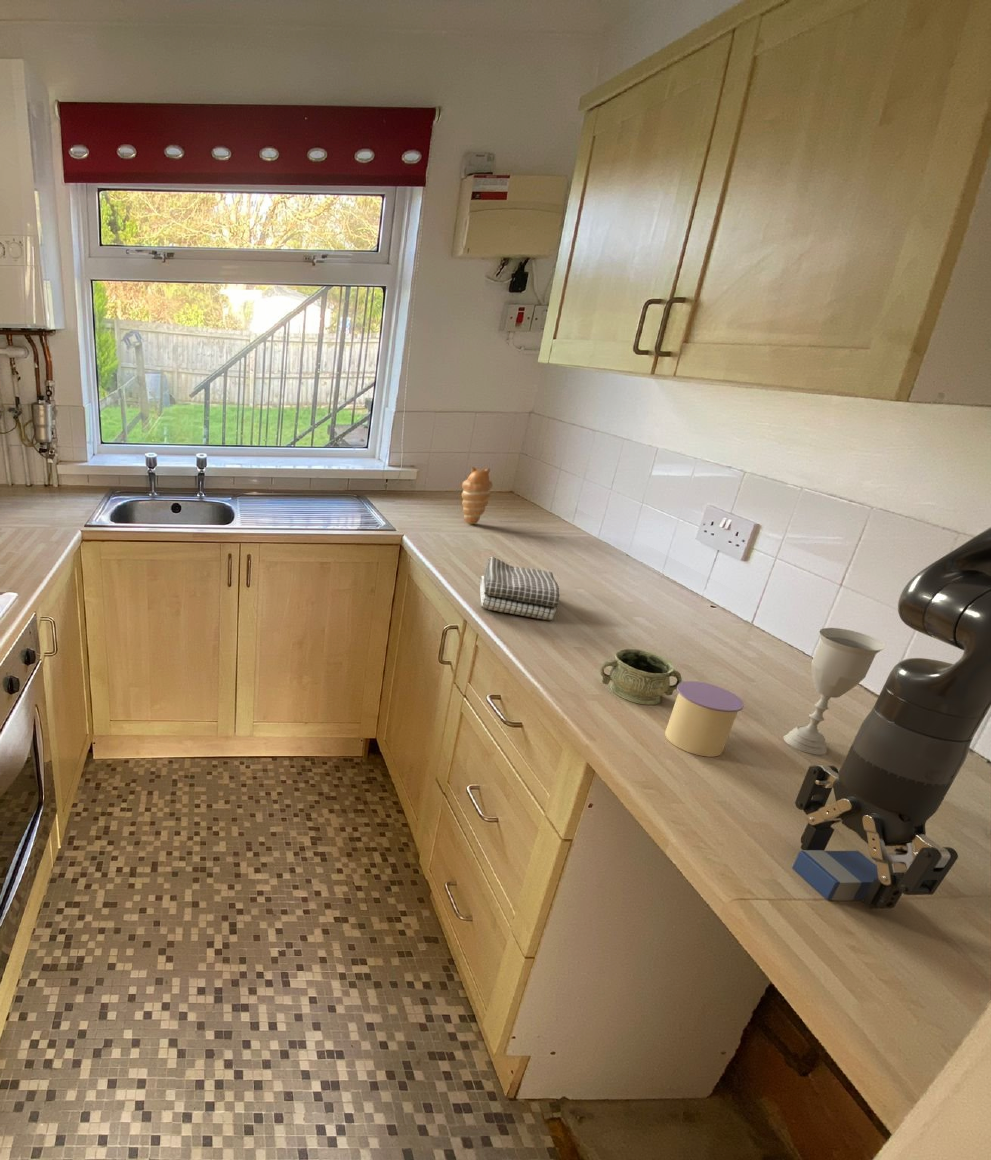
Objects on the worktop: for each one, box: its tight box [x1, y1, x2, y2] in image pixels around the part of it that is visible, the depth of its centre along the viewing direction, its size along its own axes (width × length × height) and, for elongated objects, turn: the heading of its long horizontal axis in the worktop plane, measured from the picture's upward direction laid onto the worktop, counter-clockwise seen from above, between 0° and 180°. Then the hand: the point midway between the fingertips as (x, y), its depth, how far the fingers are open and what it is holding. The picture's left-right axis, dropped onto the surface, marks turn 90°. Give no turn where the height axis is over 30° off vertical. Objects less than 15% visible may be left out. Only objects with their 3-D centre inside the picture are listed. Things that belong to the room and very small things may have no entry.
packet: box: [791, 850, 878, 901], centre depth 72 cm, size 7×5×3 cm, turn 92°
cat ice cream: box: [461, 466, 494, 525], centre depth 199 cm, size 9×8×18 cm
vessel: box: [599, 648, 683, 706], centre depth 108 cm, size 12×9×6 cm
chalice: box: [782, 627, 886, 756], centre depth 93 cm, size 7×7×18 cm
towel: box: [479, 556, 560, 621], centre depth 143 cm, size 15×18×8 cm
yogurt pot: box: [664, 680, 745, 758], centre depth 95 cm, size 8×8×8 cm
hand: (840, 877), depth 72 cm, fingers open, 7 cm apart
